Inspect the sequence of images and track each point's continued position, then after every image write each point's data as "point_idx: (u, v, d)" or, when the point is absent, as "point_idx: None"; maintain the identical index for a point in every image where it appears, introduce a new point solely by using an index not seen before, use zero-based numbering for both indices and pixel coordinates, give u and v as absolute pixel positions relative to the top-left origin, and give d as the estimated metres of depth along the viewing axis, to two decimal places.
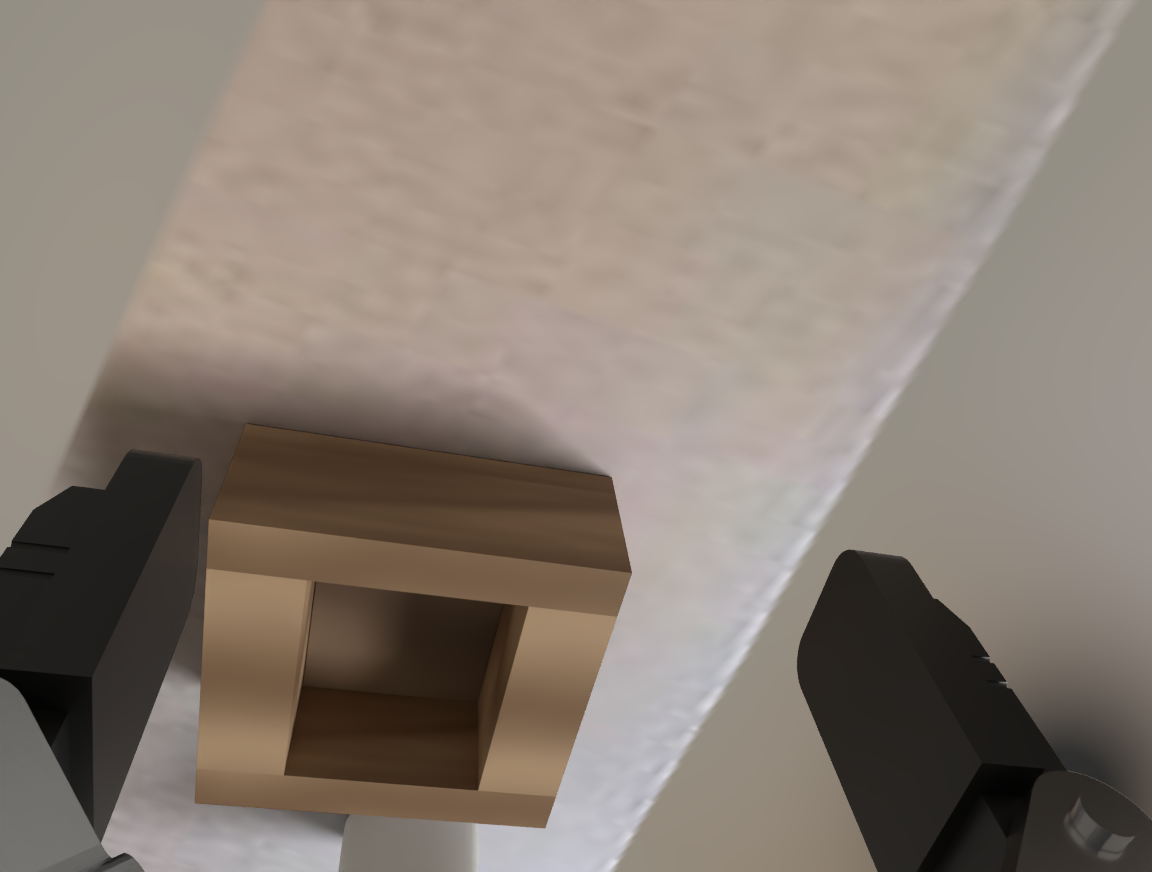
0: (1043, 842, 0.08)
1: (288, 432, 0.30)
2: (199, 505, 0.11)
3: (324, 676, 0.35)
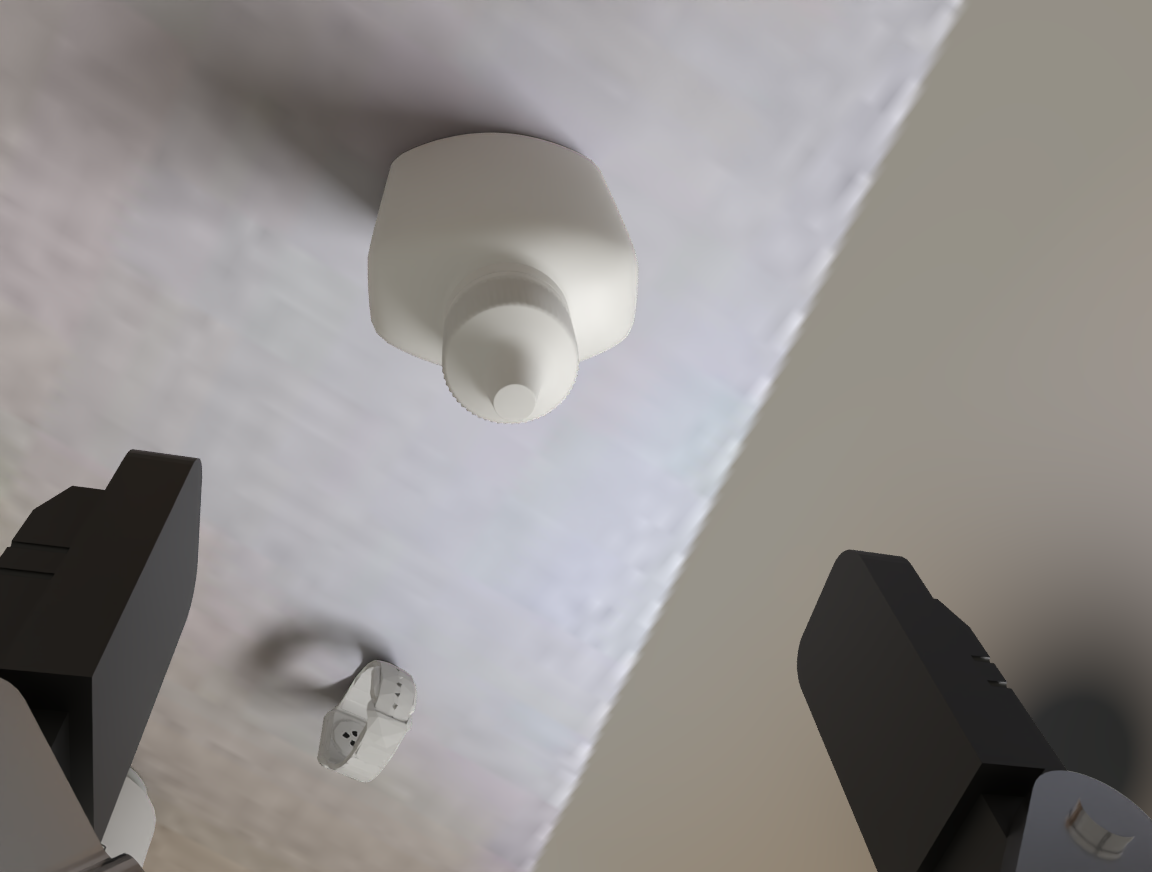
0: (1043, 842, 0.08)
1: None
2: (199, 505, 0.11)
3: None
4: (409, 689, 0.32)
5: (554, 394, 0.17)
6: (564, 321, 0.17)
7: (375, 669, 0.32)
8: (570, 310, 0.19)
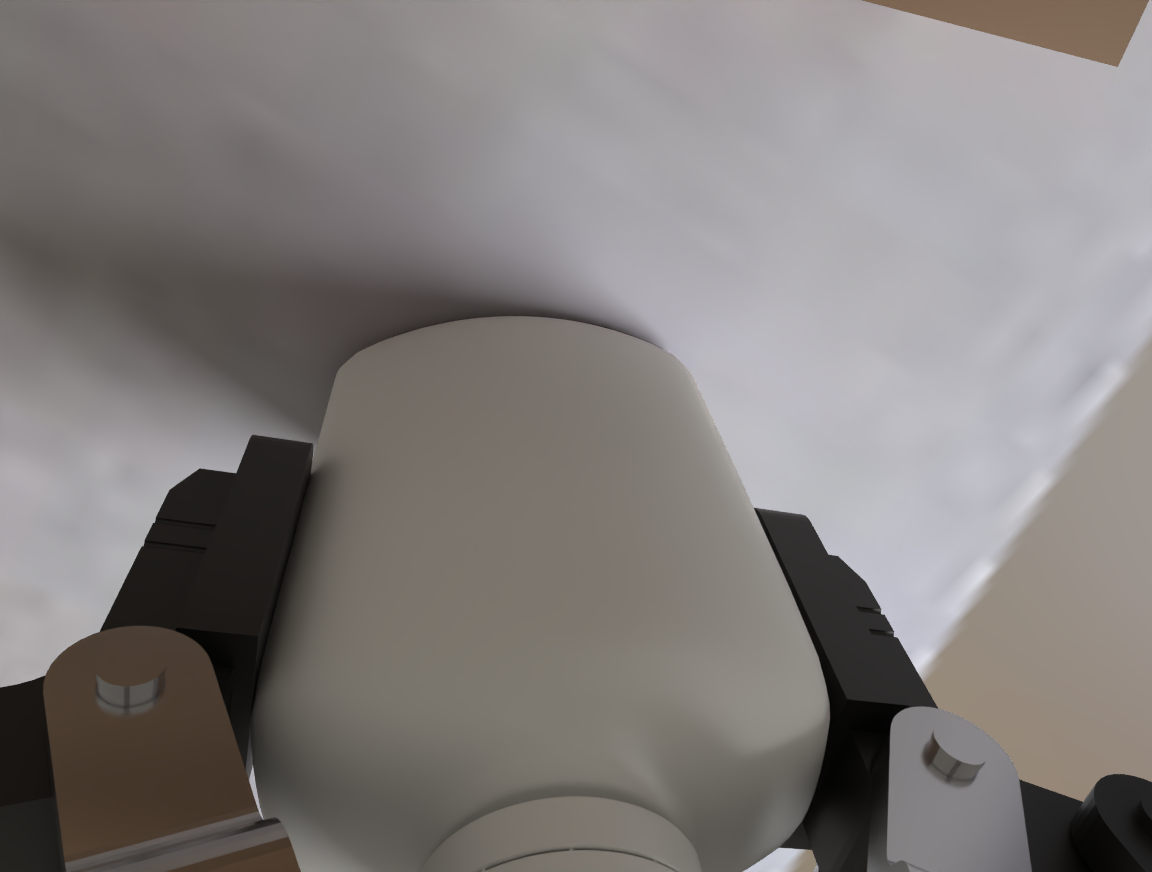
0: (907, 784, 0.08)
1: None
2: None
3: None
4: None
5: None
6: None
7: None
8: (697, 840, 0.08)
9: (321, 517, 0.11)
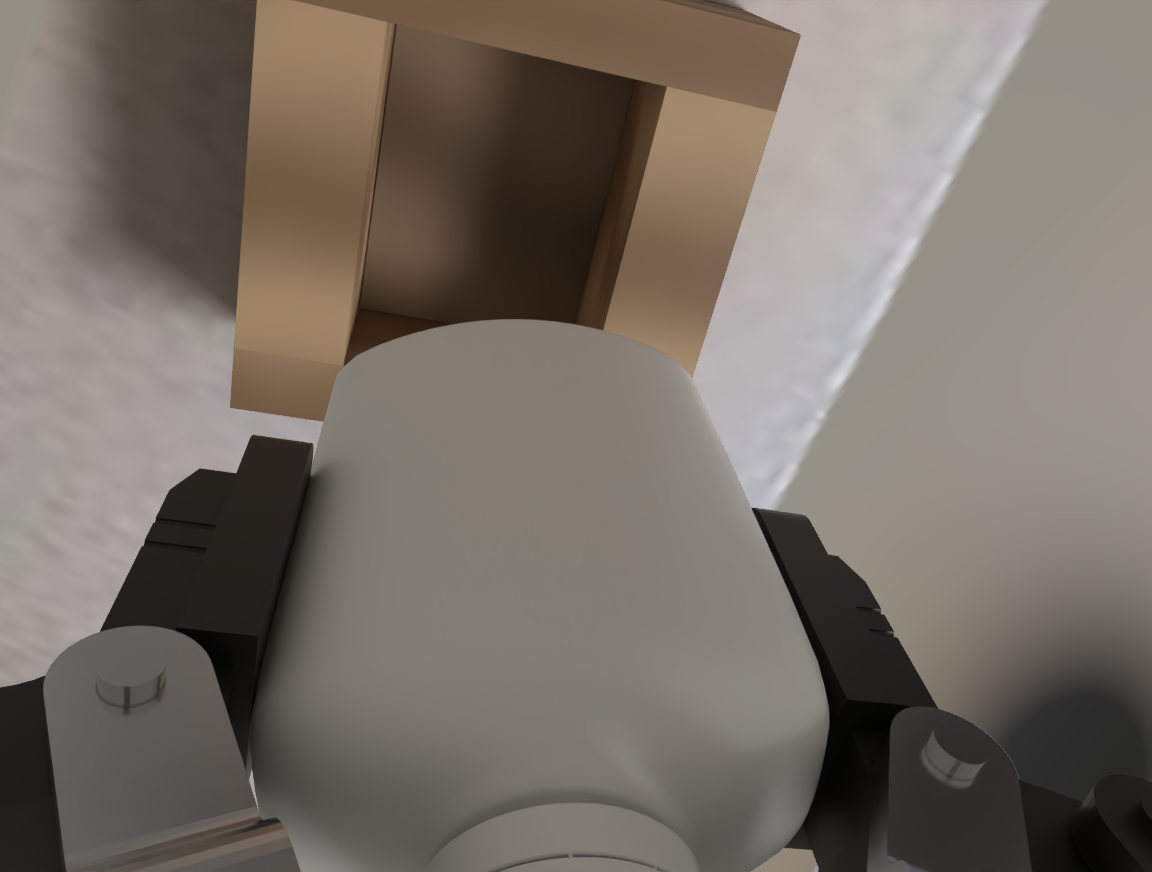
0: (907, 784, 0.08)
1: None
2: None
3: (386, 293, 0.28)
4: None
5: None
6: None
7: None
8: (696, 846, 0.08)
9: (321, 521, 0.11)
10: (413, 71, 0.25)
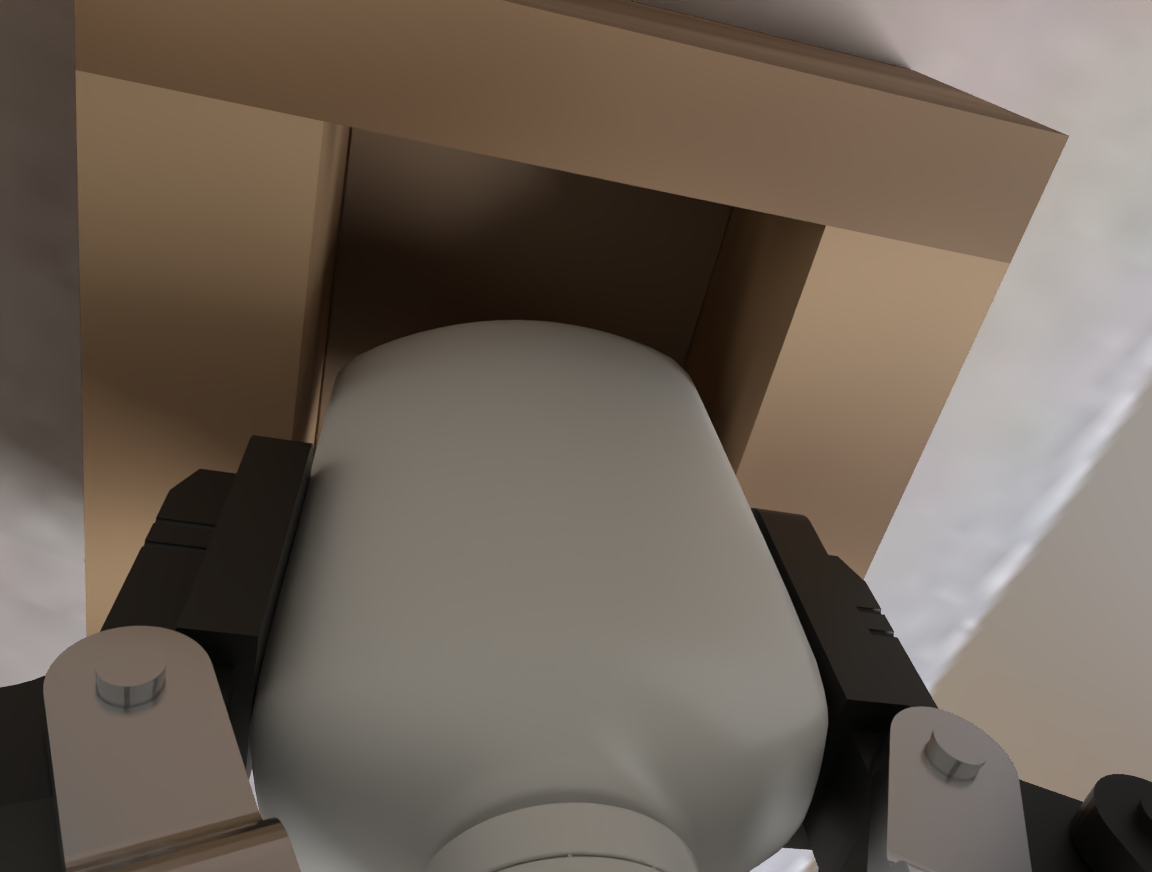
0: (907, 784, 0.08)
1: None
2: None
3: None
4: None
5: None
6: None
7: None
8: (695, 846, 0.08)
9: (320, 522, 0.11)
10: (384, 173, 0.16)
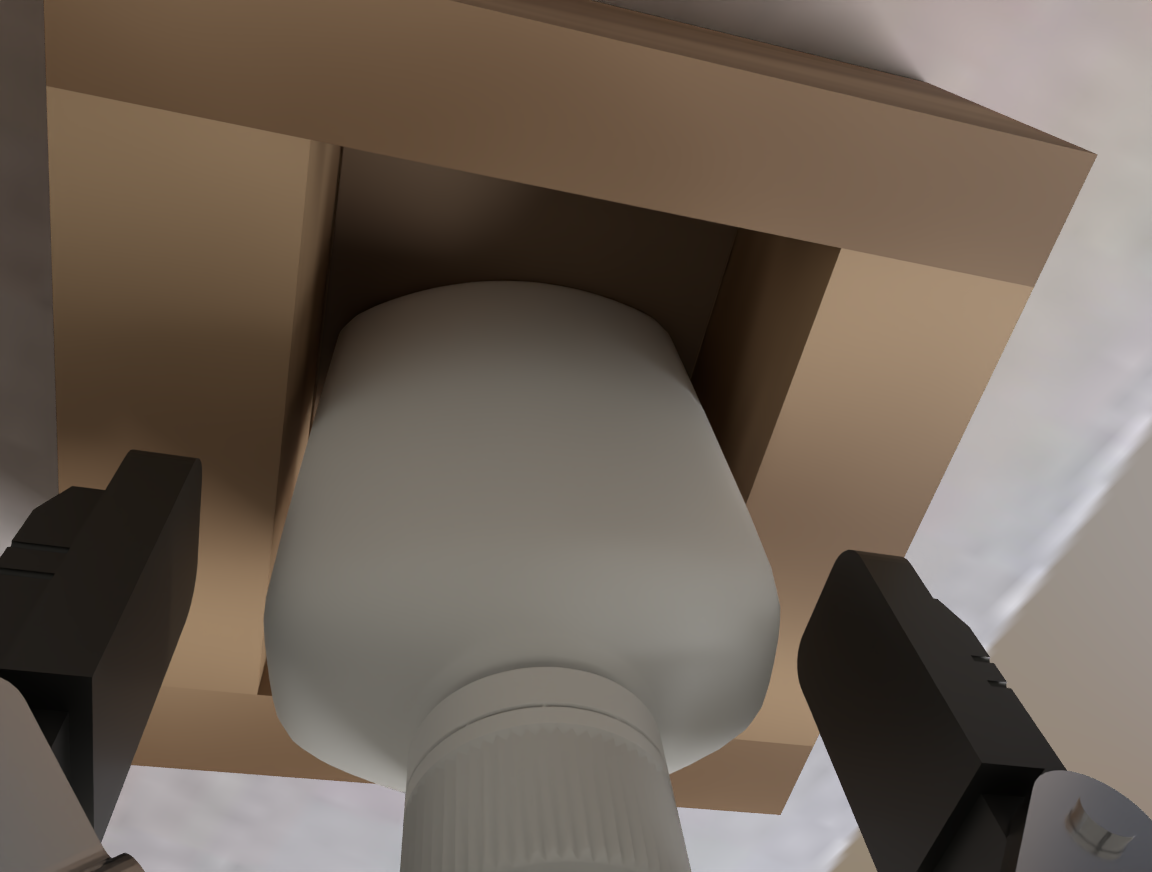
0: (1043, 842, 0.08)
1: None
2: (199, 505, 0.11)
3: None
4: None
5: None
6: (670, 858, 0.07)
7: None
8: (659, 720, 0.10)
9: (326, 449, 0.12)
10: (377, 190, 0.15)
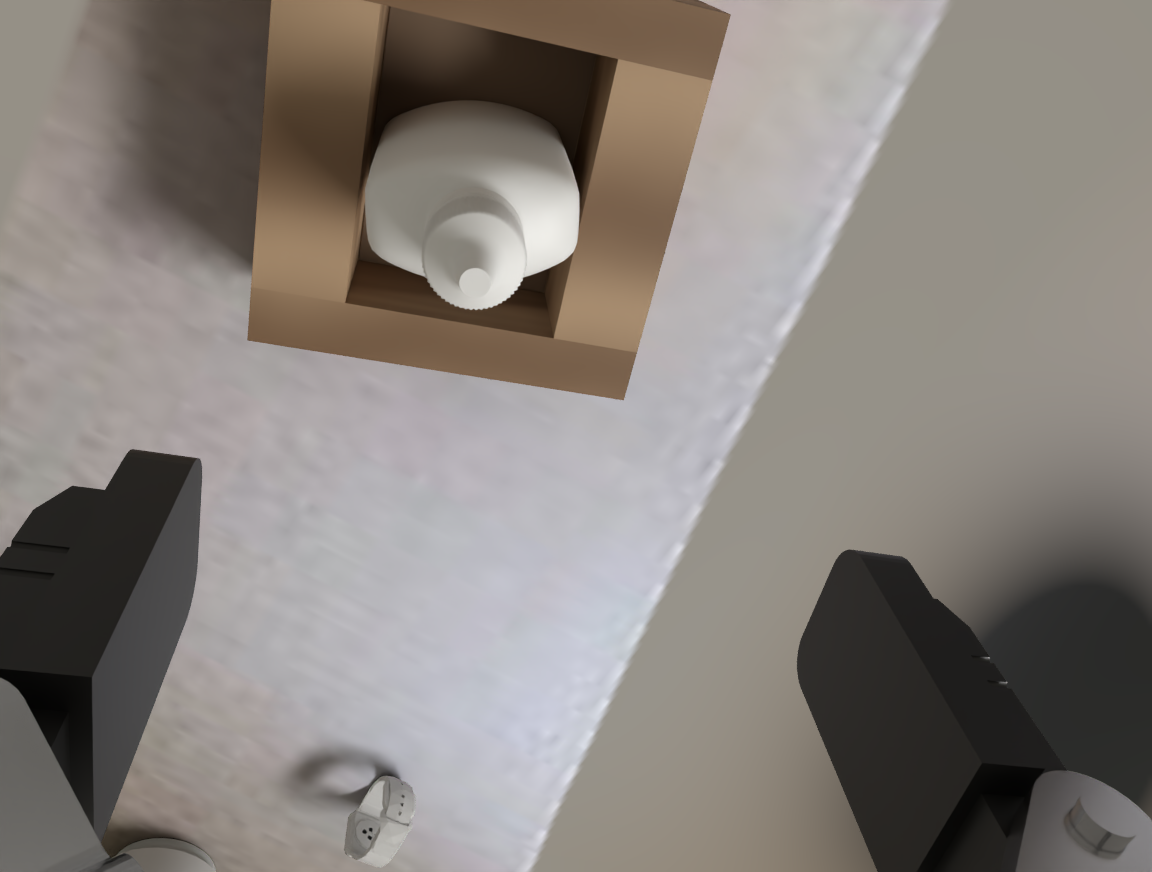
0: (1043, 842, 0.08)
1: None
2: (199, 505, 0.11)
3: None
4: (410, 799, 0.45)
5: (508, 284, 0.22)
6: (514, 227, 0.22)
7: (385, 785, 0.44)
8: (523, 228, 0.24)
9: (385, 148, 0.26)
10: (404, 50, 0.30)
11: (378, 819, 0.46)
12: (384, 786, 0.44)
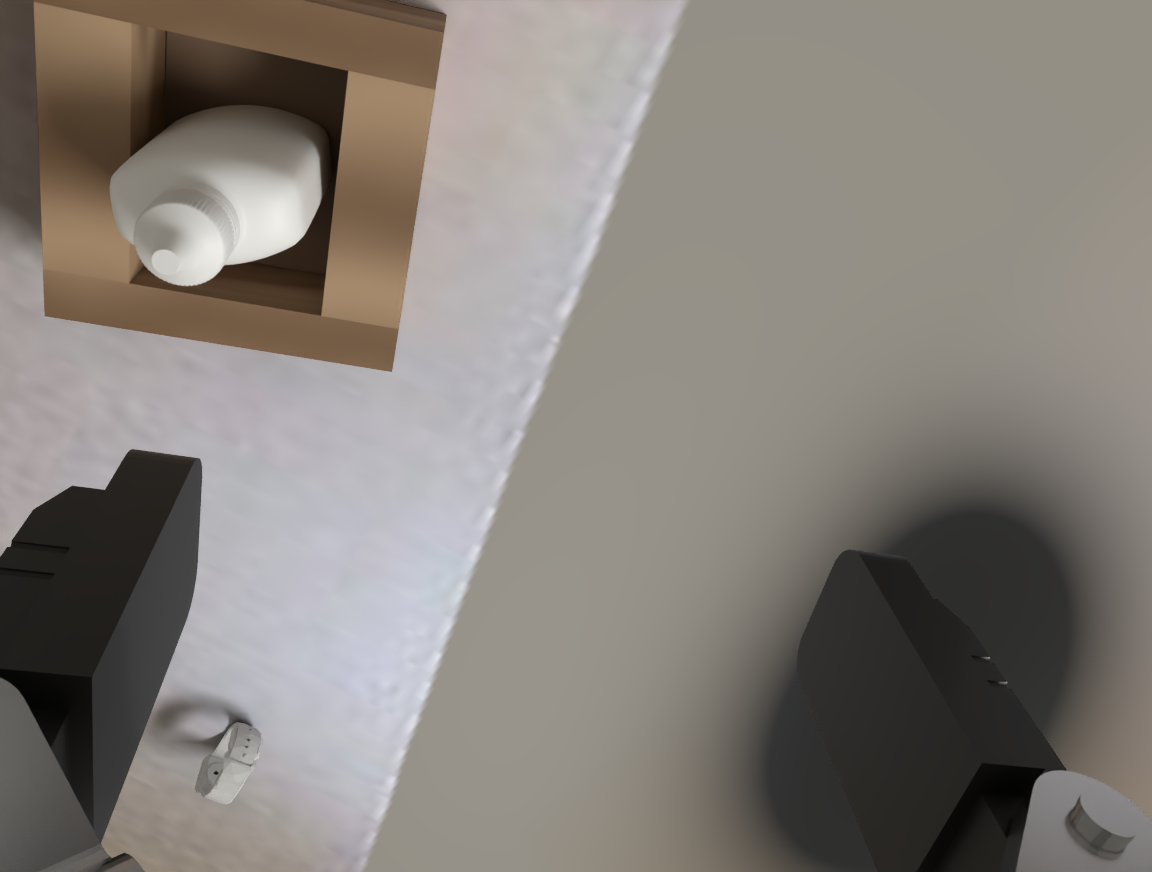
0: (1043, 842, 0.08)
1: None
2: (199, 505, 0.11)
3: None
4: (256, 742, 0.49)
5: (210, 264, 0.26)
6: (213, 216, 0.26)
7: (233, 729, 0.49)
8: (243, 217, 0.28)
9: (143, 147, 0.30)
10: (184, 60, 0.33)
11: None
12: (232, 731, 0.49)
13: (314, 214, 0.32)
